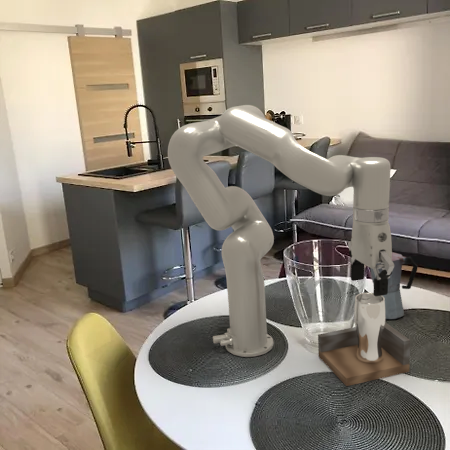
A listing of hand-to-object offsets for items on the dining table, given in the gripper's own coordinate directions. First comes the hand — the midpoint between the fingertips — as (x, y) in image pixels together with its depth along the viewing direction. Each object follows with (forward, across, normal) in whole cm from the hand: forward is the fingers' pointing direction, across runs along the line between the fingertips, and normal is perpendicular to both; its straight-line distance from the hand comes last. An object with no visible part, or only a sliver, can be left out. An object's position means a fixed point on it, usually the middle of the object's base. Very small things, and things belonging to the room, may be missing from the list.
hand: (368, 287), depth 116 cm
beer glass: (+18, 0, 0) cm, 18 cm away
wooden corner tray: (+20, 0, +1) cm, 20 cm away
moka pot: (+20, +21, -20) cm, 36 cm away
